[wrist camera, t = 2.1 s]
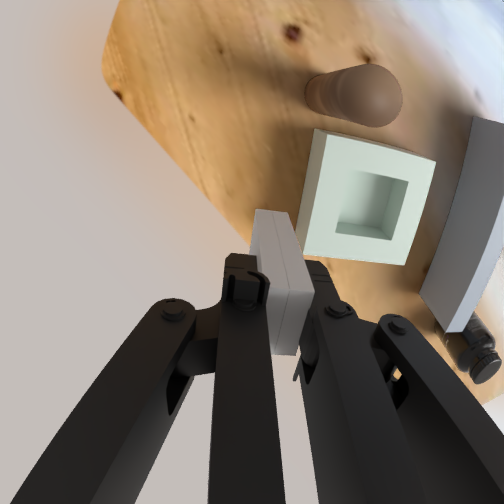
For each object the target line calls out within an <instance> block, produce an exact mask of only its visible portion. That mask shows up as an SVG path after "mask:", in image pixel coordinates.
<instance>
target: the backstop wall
mask: <svg viewBox="0 0 504 504" xmlns="http://www.w3.org/2000/svg"><path fill="white" fill-rule="evenodd" d="M503 246H504V124H503V123H499V122H495V121H491V120H487V119H483V118H479V117H474V116H473V121H472V127H471V132H470V137H469V141H468V146H467V150H466V155H465V159H464V163H463V167H462V171H461V175H460V178H459V182H458V186H457V189H456V193H455V196H454V200H453V203H452V206H451V209H450V212H449V216H448V219H447V222H446V225H445V228H444V230H443V233H442V236H441V239H440V242H439V244H438V247H437V250H436V253H435V255H434V258H433V260H432V263H431V265H430V268H429V270H428V273H427V275H426V278H425V280H424V282H423V285H422V287H421V289H420V292H419V295H420V296H421V298H422V299H423V301H424V302H425V303H426V305H427V306H428V308H429V309H430V311H431V312H432V313H433V315H434V316H435V318H436V319H437V321H438V322H439V324H440V325H441V326H442V328H443V329H444V331H445V332H462V331H463V329H464V328H465V326H466V324H467V322H468V321H469V319H470V317H471V315H472V313H473V311H474V309H475V308H476V306H477V304H478V302H479V300H480V298H481V296H482V294H483V292H484V290H485V288H486V285H487V283H488V281H489V279H490V277H491V275H492V272H493V270H494V268H495V266H496V263H497V261H498V259H499V256H500V254H501V251H502V249H503Z"/></svg>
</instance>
